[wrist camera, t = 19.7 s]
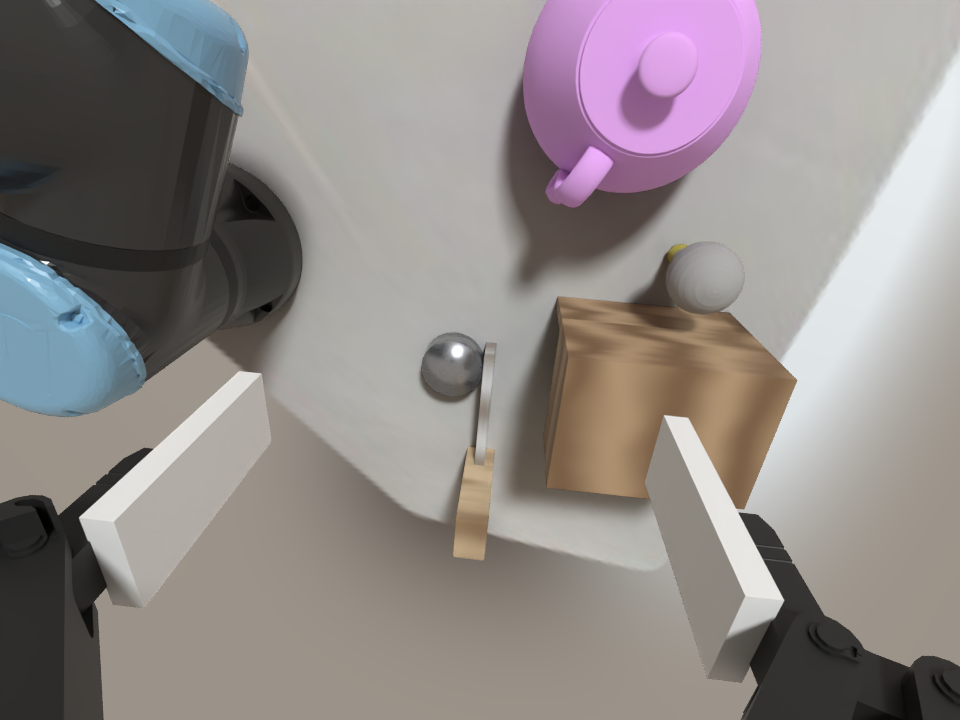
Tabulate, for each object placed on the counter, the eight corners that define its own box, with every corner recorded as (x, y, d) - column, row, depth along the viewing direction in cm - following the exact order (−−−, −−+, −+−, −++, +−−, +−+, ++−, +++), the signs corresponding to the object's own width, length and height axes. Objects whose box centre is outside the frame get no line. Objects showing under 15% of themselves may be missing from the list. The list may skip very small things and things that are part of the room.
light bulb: (687, 292, 46) (726, 336, 37) (635, 269, 45) (661, 308, 37) (723, 238, 44) (773, 271, 35) (667, 212, 43) (704, 239, 34)
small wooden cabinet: (541, 406, 53) (545, 490, 41) (557, 296, 47) (568, 357, 36) (694, 422, 52) (742, 512, 41) (729, 312, 47) (797, 380, 35)
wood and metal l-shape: (490, 484, 58) (483, 560, 48) (465, 481, 58) (453, 556, 48) (506, 344, 50) (501, 402, 40) (476, 341, 50) (464, 398, 40)
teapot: (643, -172, 33) (714, -340, 20) (820, -25, 35) (978, -96, 23) (473, 143, 42) (452, 157, 30) (623, 241, 44) (660, 291, 32)
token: (423, 379, 53) (419, 391, 51) (428, 327, 50) (424, 337, 48) (479, 388, 53) (477, 400, 50) (487, 337, 50) (486, 347, 48)
